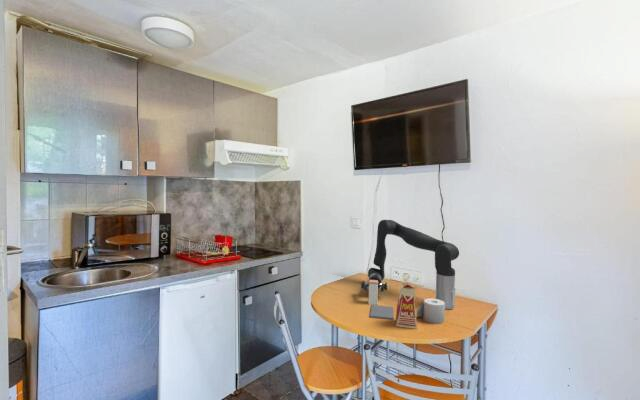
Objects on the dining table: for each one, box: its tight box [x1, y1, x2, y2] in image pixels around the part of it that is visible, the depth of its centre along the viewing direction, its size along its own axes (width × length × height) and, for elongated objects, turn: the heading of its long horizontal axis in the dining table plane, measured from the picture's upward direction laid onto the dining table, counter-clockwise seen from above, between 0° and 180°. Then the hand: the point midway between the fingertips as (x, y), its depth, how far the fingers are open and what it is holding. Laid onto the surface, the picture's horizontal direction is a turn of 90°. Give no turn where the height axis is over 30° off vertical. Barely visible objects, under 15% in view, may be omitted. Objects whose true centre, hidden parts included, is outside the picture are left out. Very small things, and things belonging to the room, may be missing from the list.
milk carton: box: [395, 280, 418, 330], centre depth 147 cm, size 9×9×20 cm
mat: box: [369, 304, 395, 321], centre depth 160 cm, size 15×11×1 cm
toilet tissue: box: [416, 298, 446, 325], centre depth 152 cm, size 9×13×9 cm
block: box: [368, 279, 379, 306], centre depth 173 cm, size 4×4×12 cm
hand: (373, 289), depth 175 cm, fingers open, 8 cm apart
